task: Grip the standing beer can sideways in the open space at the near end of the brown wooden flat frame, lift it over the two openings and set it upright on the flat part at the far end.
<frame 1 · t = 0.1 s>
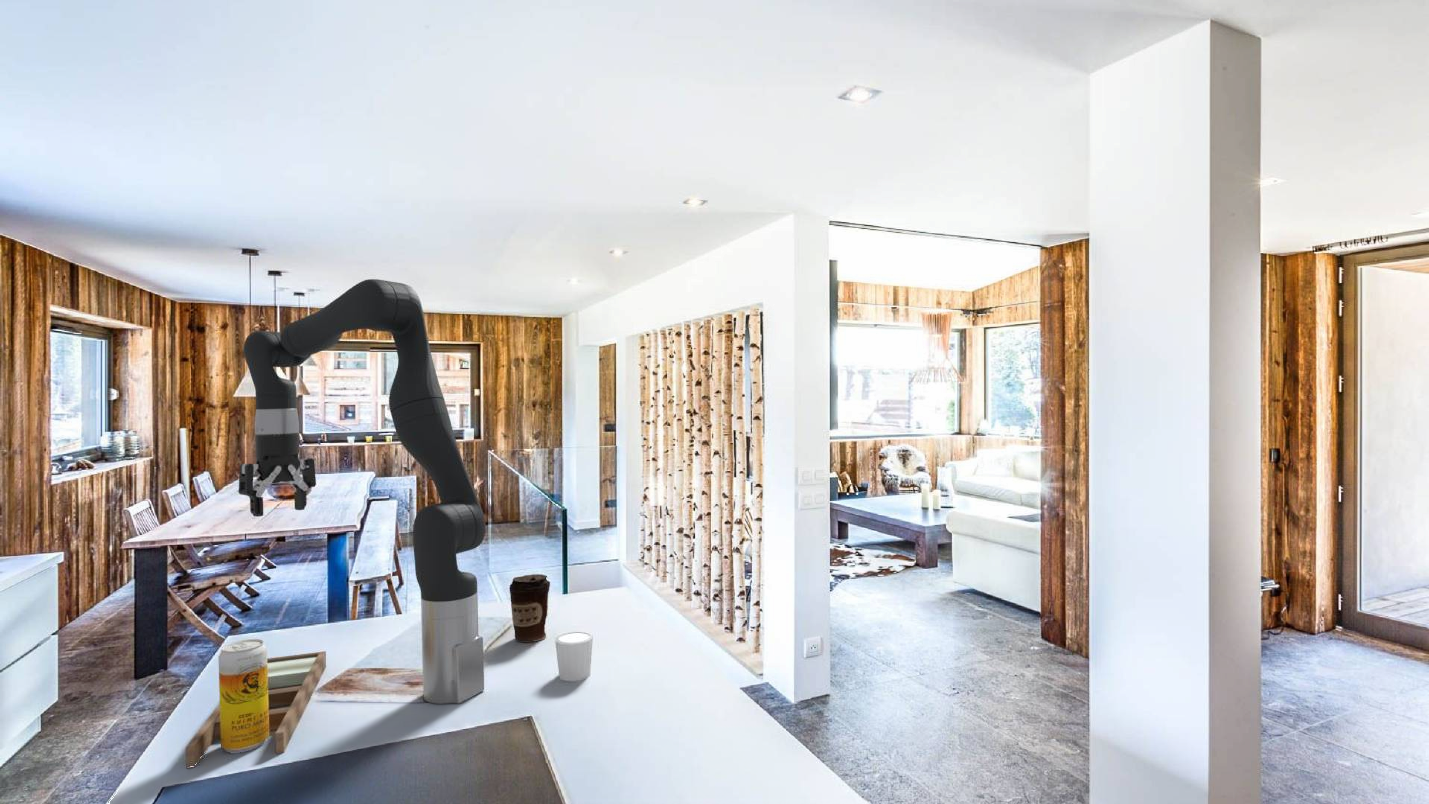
hand: (279, 512, 144), 29 cm above the countertop, tool pointing down, fingers open, 8 cm apart
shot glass: (574, 676, 133), on the countertop
brown wooden flat frame: (267, 709, 120), on the countertop
coffee cup: (530, 639, 153), on the countertop
beer can: (245, 746, 108), on the countertop
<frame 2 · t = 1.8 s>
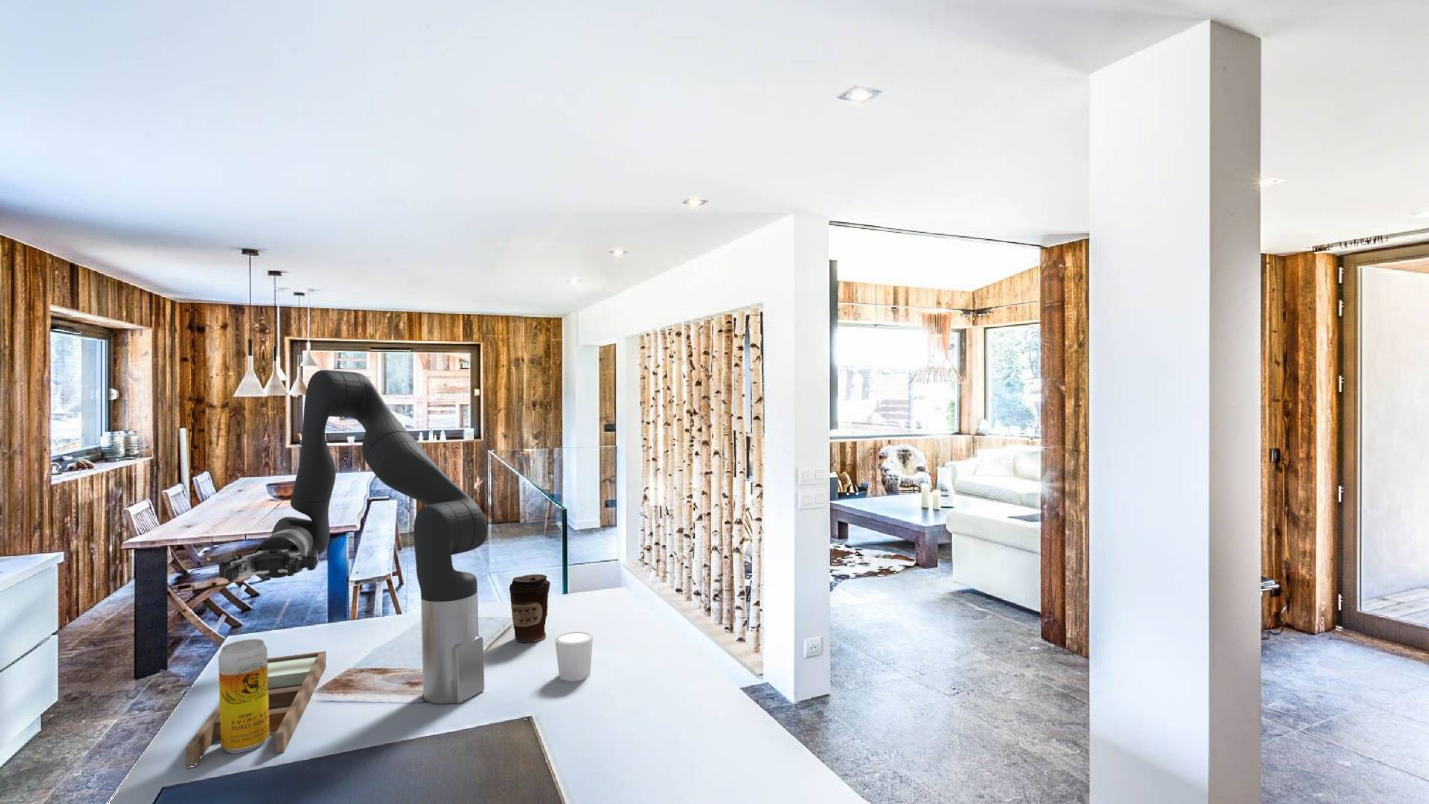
hand: (260, 572, 118), 23 cm above the countertop, tool horizontal, fingers open, 8 cm apart
nothing on the countertop moved.
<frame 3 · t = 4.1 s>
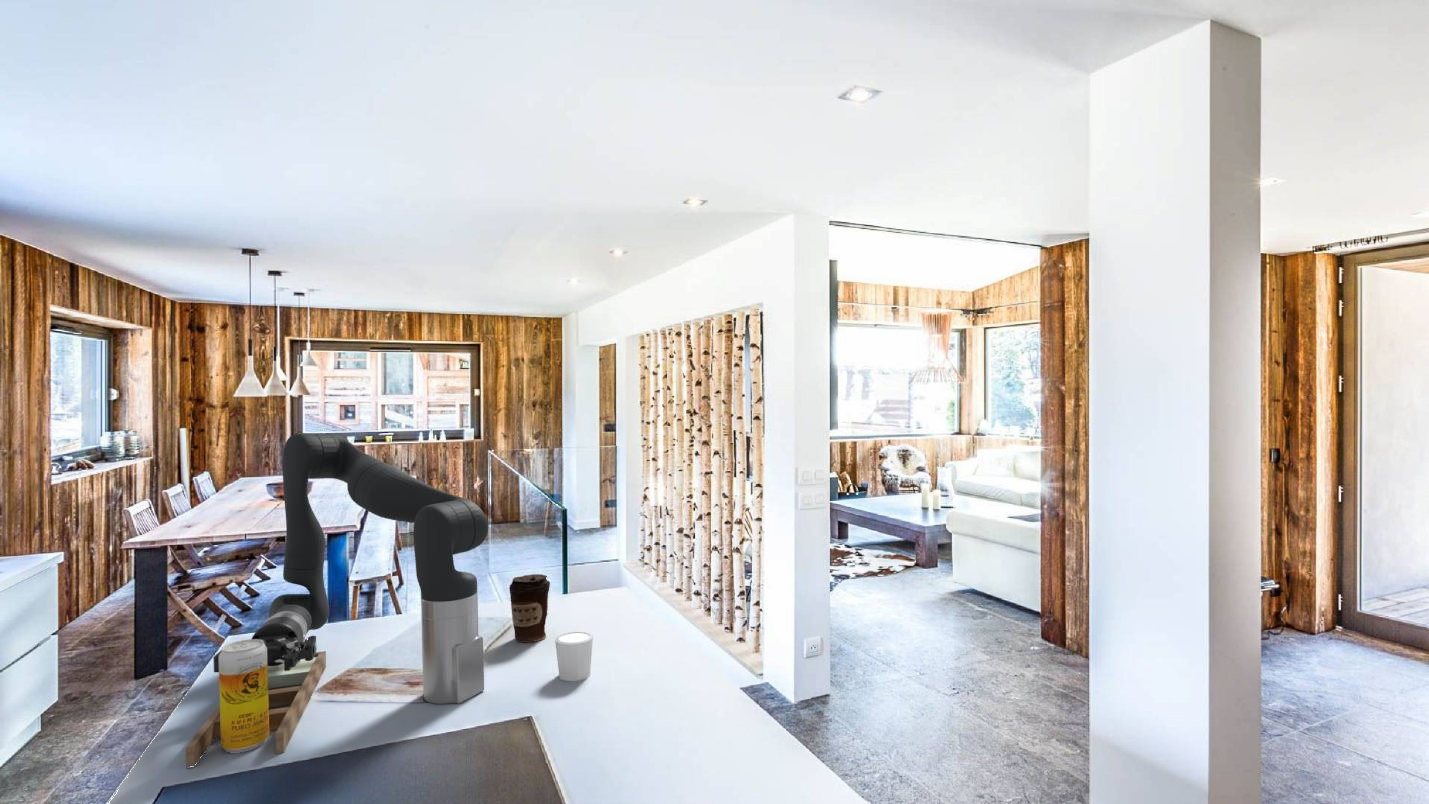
hand: (256, 668, 114), 9 cm above the countertop, tool horizontal, fingers open, 8 cm apart
nothing on the countertop moved.
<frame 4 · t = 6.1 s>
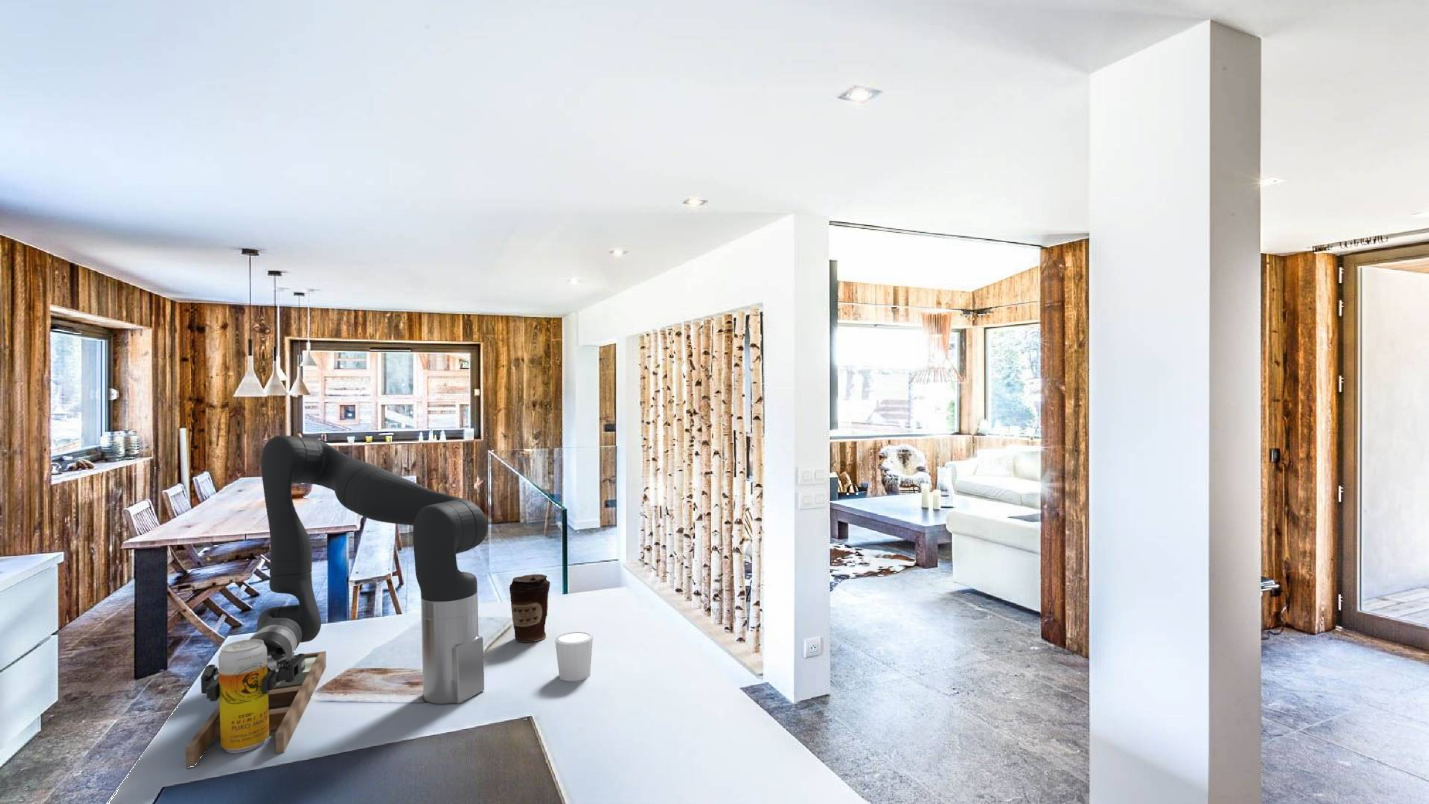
hand: (239, 690, 106), 9 cm above the countertop, tool horizontal, fingers closed on beer can, 6 cm apart
beer can: (245, 746, 108), on the countertop, touching gripper
everything else where it was.
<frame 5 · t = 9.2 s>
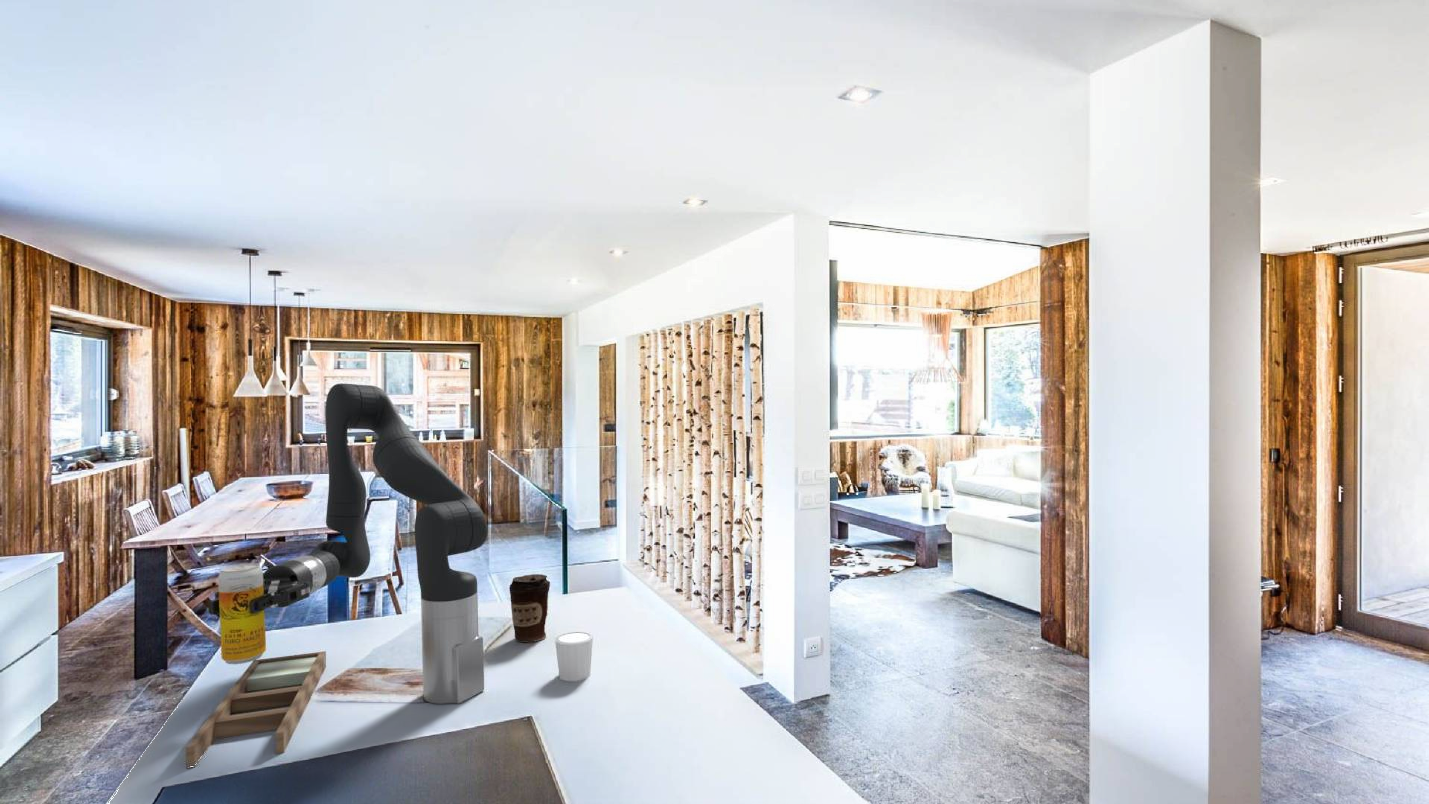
hand: (231, 608, 115), 18 cm above the countertop, tool horizontal, fingers closed on beer can, 6 cm apart
beer can: (244, 659, 118), point 9 cm above the countertop, touching gripper
everything else where it was.
when the fingers open (12 cm above the countertop, at t = 12.3 s): beer can stays where it is, resting on brown wooden flat frame.
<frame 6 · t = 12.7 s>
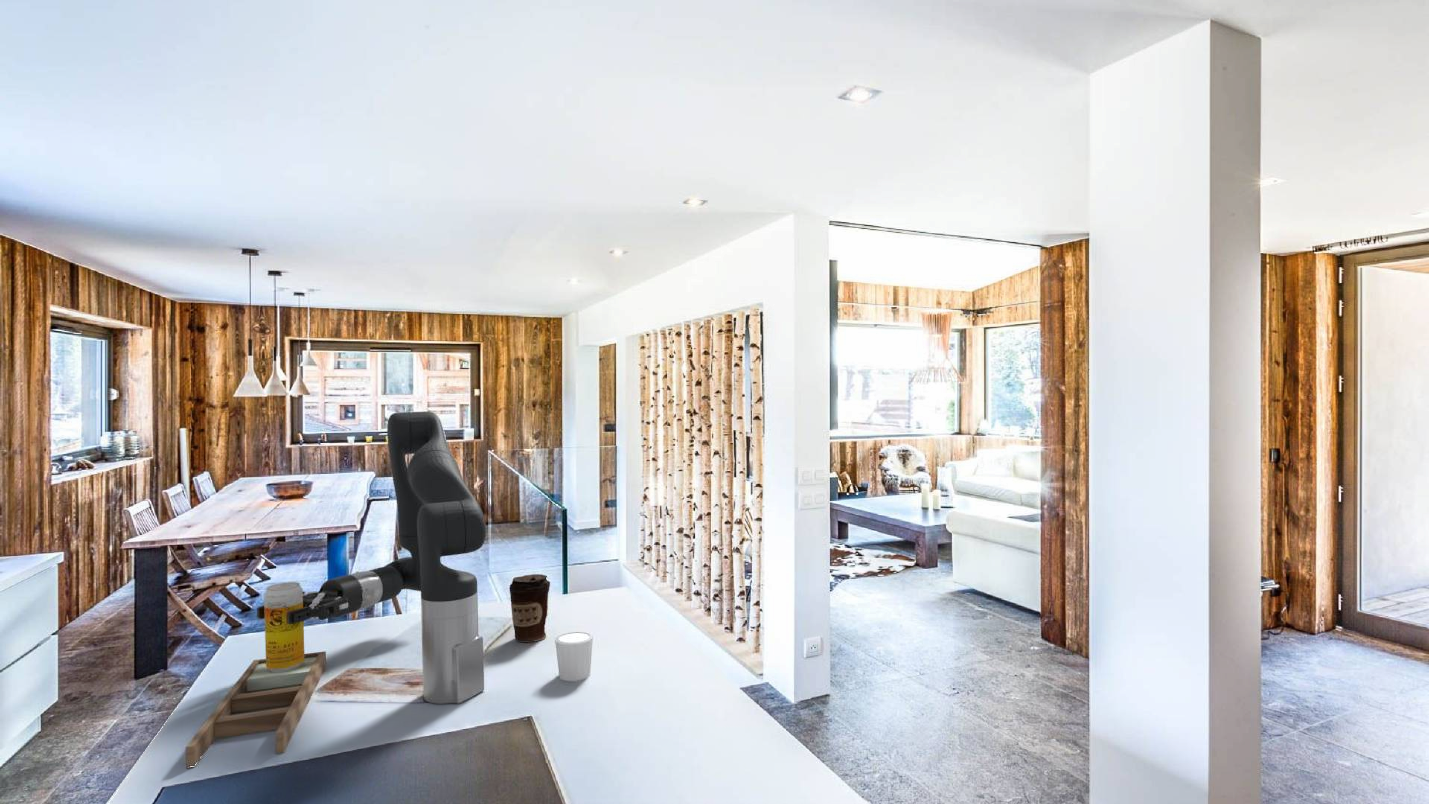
hand: (272, 616, 131), 13 cm above the countertop, tool horizontal, fingers open, 8 cm apart
beer can: (285, 668, 133), point 2 cm above the countertop, touching brown wooden flat frame
everything else where it was.
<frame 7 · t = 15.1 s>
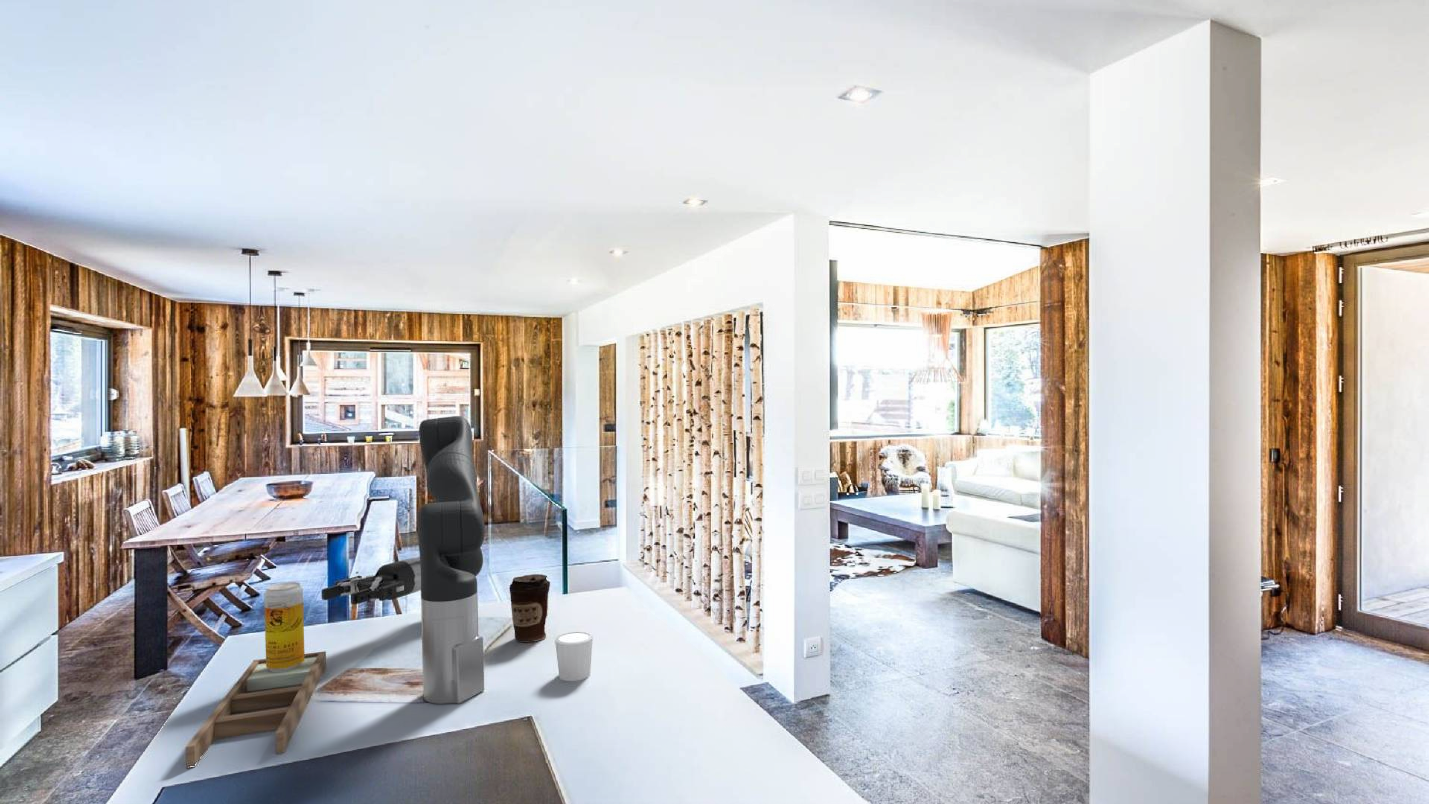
hand: (337, 597, 142), 13 cm above the countertop, tool horizontal, fingers open, 8 cm apart
nothing on the countertop moved.
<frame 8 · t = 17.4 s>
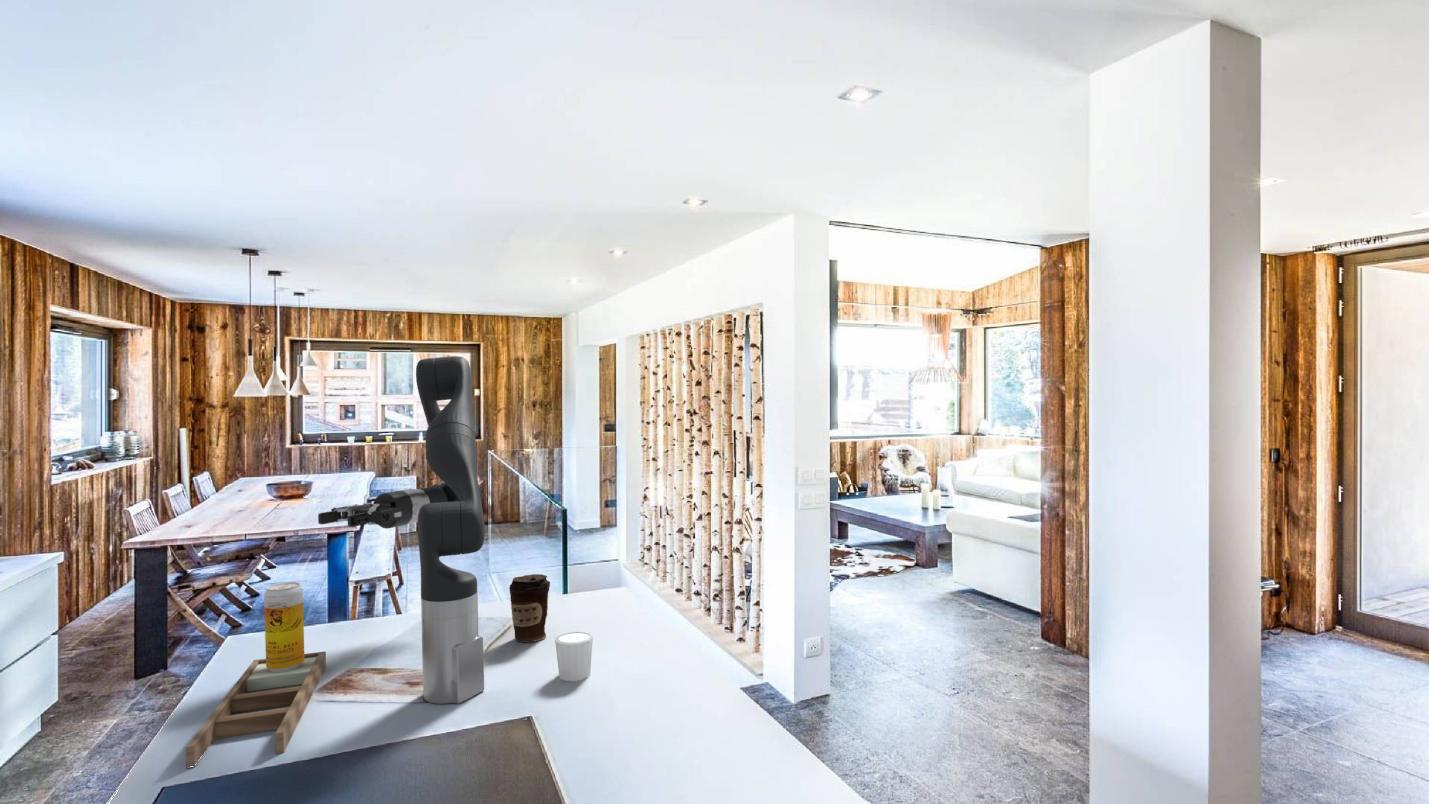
hand: (333, 520, 141), 28 cm above the countertop, tool horizontal, fingers open, 8 cm apart
nothing on the countertop moved.
at the end: beer can 0.2 cm from the target spot on the brown wooden flat frame, point 2.3 cm above the brown wooden flat frame's base; beer can tilted 0°; the gripper is holding nothing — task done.
